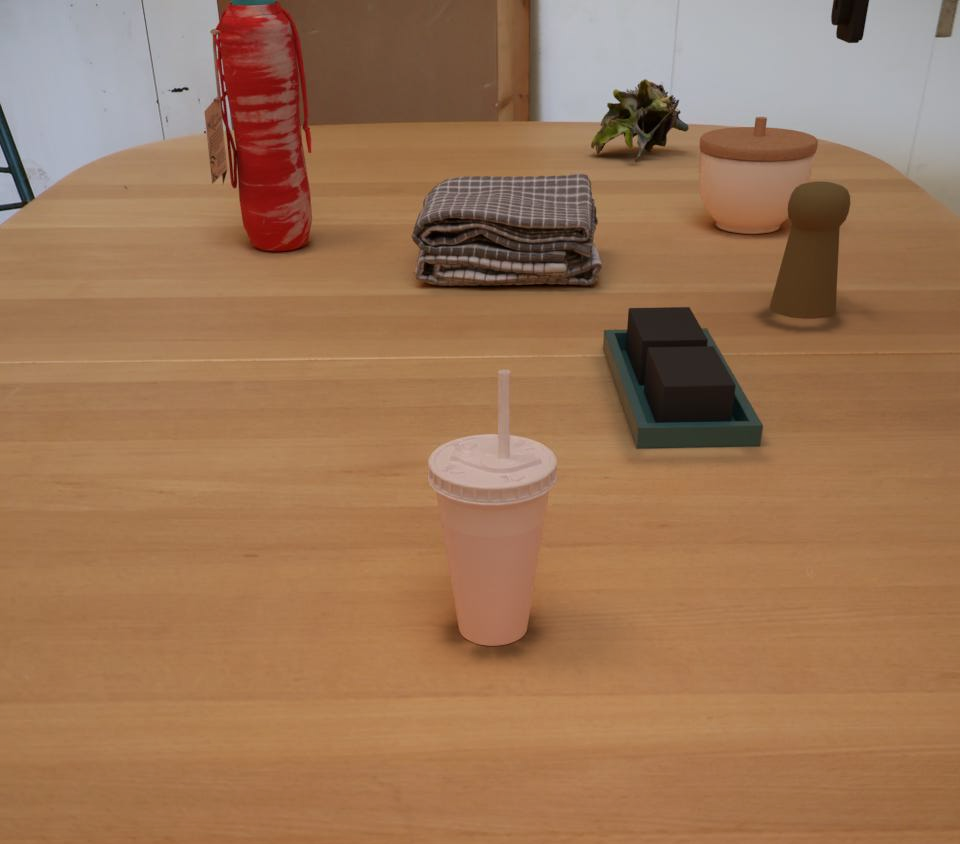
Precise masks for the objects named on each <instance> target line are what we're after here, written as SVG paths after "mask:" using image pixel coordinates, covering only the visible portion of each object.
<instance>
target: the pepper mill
mask: <svg viewBox="0 0 960 844" xmlns="http://www.w3.org/2000/svg"><path fill="white" fill-rule="evenodd" d="M850 209H851V195H850V192H849V190H848V189H847V188H846V187H845V186H843V185H841V184H839V183H835V182H829V181H811V182H810V181H809V183H804V184H801V185H799V186H798V187H796V188H795V189H794V191H793V192H792V194H791V197H790V199H789V202H788V217H789V218H788V219H789V222H790V223H791V226H790V230H789V234H788V238H787V241H786V244H785V249H784V252H783V256H782V259H781V264H780V267H779V270H778V274H777V277H776V281H775V285H774V288H773V293H772V296H771V299H770V302H769V303H770V304H769V309H770V310H771V312H773V313H775V314H777V315H780V316H784V317H787V318H793V319H804V320H813V319H815V320H816V319H822V318H823V319H825V318H828V317H831V316H833V315H835V314H836V312H837V311H836V310H837V295H838V294H837V290H838V272H839V271H838V269H839V249H840V228H841V226H842V225H843V224H844V223H845V221H846V220H847V217H848V216H849V213H850Z"/></svg>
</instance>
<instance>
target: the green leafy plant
mask: <svg viewBox="0 0 960 844" xmlns="http://www.w3.org/2000/svg"><path fill="white" fill-rule="evenodd" d="M668 93H669V91H666V90H665V87H664V85H663V84H656V83H655V82H652V81H649V79H646V78H644V79H642V80H641V81H640V82H639V83H637V87H636V86H635V87H634V89H633V90H632V89H631V88H630V89H628V88H626V90H625V91H624V90H623V91H621V90H619V89H617V88H614V89H613V91H612V95H613V98H614V99H615V100H616V101H617V103H613V102H607V104H606V108H608V111H607V112H606V113H605V114H604V116H603V117H602V119H601V121H600V129H599V130H598V131H597V132H596V134H595V136H594V138H593V139H592V141H591V143H590V147H591V149H592V150H594V149H595V151H596V154H597V155H599V154H600V153H601V151H603V150H604V147H605V146H606V144H607V143H609V142H610V141H612V140H614V139H615V138H617V137H619V136H623V138H624V142H625V144H626V146H627V147H628V148H629V149H633V148H634V144H633V139H634V138H635V137H637V141H636V144H637V145H638V152H637V156H636V157H635V160H634V162H636V163H637V162H638V159H639V158H640V156H641V154H642V152H643V150H645V151H647V152H651V151H652V150H653V147H654V146H659V147H663V148H664V147H666V145H667V141H668V140H667V139H668V137H667V136H668V133H669V132H670V131H671V130H672V129H675V130H677V131H682V132H687V131H689V128H690V127H689V125H688V124H687V123H686V122H684V121H683V120H681V119H680V116H679V115H680V114H681V110H680V109H678V108H677V107H678V105H679V102H680V99H679V98H678V99H676V97H675V96H674V94H672V95H670V96H668Z"/></svg>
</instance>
